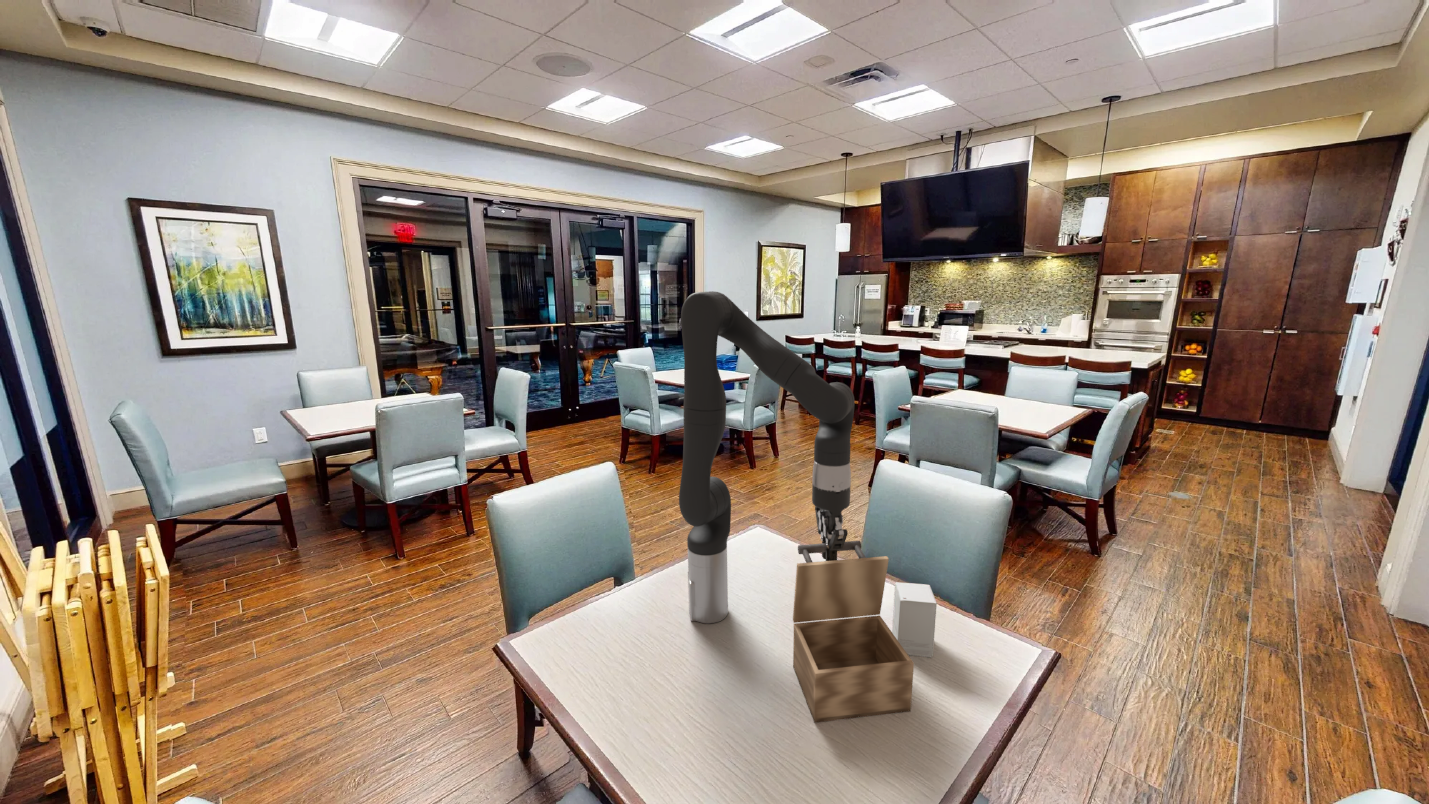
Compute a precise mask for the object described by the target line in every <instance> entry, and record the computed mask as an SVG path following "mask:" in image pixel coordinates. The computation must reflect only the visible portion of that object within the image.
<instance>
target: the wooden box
mask: <svg viewBox="0 0 1429 804" xmlns="http://www.w3.org/2000/svg"><path fill="white" fill-rule="evenodd" d="M792 654H793V656H792V665H793V666H792V667H793V670H794V673H795V675H796V677H797V681H798V683H799V686H800V689H801V692H802V694H803V697H804V700H805V703H806V705H807V707H808V710H809V712H810V715H811V717H812V720H813V723H816V724H817V723H824V722H833V721H840V720H848V719H850V720H851V719H857V718H867V717H875V716H882V715H891V714H900V713H901V714H902V713H909V712H911V710H912V697H913V682H914V666H915V665H914V664H915V663H914V661H913V660H912V659H911V657H910V655H908V654H907V653H906V651H905V650H904V649H903V647H902V646H901V644H900V643H899V642H898V640H897V639H896V637H895V636H894V635H893V633H892V629H890V627H889V626H888V625H887V623H886V622H885V621H884V619H883V618H882V616H881V614H880V615H870V616H860V617H849V618H839V619H828V620H818V621H807V622H797V623H793V653H792Z"/></svg>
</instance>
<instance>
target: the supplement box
mask: <svg viewBox="0 0 1429 804" xmlns="http://www.w3.org/2000/svg"><path fill="white" fill-rule="evenodd" d="M893 595H894V597H893V610H892V611H893V614H892V615H893V616H892V628H891V632H892V633H893V635H894V636H895V637H896V639H897V640H898V642H899V643H900V644H901V646H902V647H903V649H904V650H905V651H906V653H907V654H908V656H914V657H923V658H924V657H925V658H933V656H934V644H935V643H934V642H935V633H936V618H937V617H936V616H937V604H938V603H937V600H936V597H935V595H934V592H933V590H932V587H931V585H930V584H923V583H911V582H897V581H895V583H894V594H893Z"/></svg>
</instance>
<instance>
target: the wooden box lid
mask: <svg viewBox="0 0 1429 804" xmlns="http://www.w3.org/2000/svg"><path fill="white" fill-rule="evenodd" d="M844 551H847V552H848V551H854V552H855V554H856V555H857V557H858V558H849V559H848V558H847V559H837V560H834V561H826V560H823V561H813V560H812V557H811V556H810V554H820V553H821V554H822V553H823V552H826V543H822V542H821V543H812V544H811V543H810V544H798V545H797V553H798V555H802V556H803V558H804V561H805V562H800V563H798V562H797V563H796V573H795V587H794V596H793V597H794V601H793V611H792V622H793V624H795V623H806V622H816V621H827V620H837V619H848V618H858V617H869V616H879V615H880V616H881V610H882V604H883V598H884V597H883V596H884V592H885V587H886V586H885V584H886V579H887V572H888V566H889V562H890V561H889V557H888V556H885V555H884V556H873V557H866V556H865V554H864V552H863V551H862V543H861V541H860V540H849V541H845V543H844V546H843V548H842V549H837V552H844Z"/></svg>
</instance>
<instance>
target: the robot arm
mask: <svg viewBox="0 0 1429 804" xmlns="http://www.w3.org/2000/svg"><path fill="white" fill-rule="evenodd" d="M680 313H681V314H680V324H681V325H680V326H681V335H682V337H681V338H682V345H683V359H684V361H683V363H684V365H683V367H684V370H683V371H684V372H683V373H684V374H683V375H684V377H683V379H684V381H683V383H684V384H683V385H684V386H683V389H684V390H683V391H684V392H683V394H684V395H683V443H682V444H683V447H682V448H683V450H682V466H681V467H682V468H681V469H682V470H681V477H680V486H679V492H678V503H679V504H678V506H679V510H680V513H681V516H682V518H683V519H684V521H685V522H686V523H687V524H688V525H690V526H692V529H691V530H690V531H689V533H688V535H687V539H686V540H687V541H686V543H687V569H688V571H687V589H688V592H687V593H688V608H689V609H688V611H689V617H690V621H691V622H698V623H702V624H713V623H718V622H720V621H722V620H725V618H727V616H728V614H729V591H728V588H729V587H728V585H729V584H728V583H729V582H728V580H729V579H728V539H729V535H730V532H731V522H732V521H731V520H732V519H731V518H732V499H731V494H730V491H729V487H728V486H727V484H726V483H725V481H723V480H722V479H720V477H717V476H711V472H712V467H713V462H714V460H715V458H716V455H717V452H718V449H719V447H720V444H721V442H722V439H723V437H724V433H725V429H726V425H727V424H726V423H727V418H726V417H727V396H726V391H725V388H724V387H725V386H724V384H723V382H722V377H721V375H720V372H719V368H718V359H717V353H718V352H717V351H718V337H721V338H723V339H725V340H727V341H728V342H730V343H732V344H734V345H735V346H737V347H738V348H739V349H740V350H742V351H743V352H744V353H745V354H746V355H747V357H749V359H750V360H751V361H752V363H754V365H755V366H756V367H757V368H758V369H759V370H760V372H761V373H762V374H764V376H766V377H767V378H769V379H770V380H772V381H773V382H774V383H776V384H777V385H778V386H779V387H781V388H782V389H784V390H785V391H787V392H788V393H790V394H791V395H792V396H793V397H794V398H795V399H796V401H797V402H799V403H800V405H801V406H802V407H803V408H804V409H805V410H806V411H807V412H808V413H810V414H811V416H813V417H814V418H816V419H817V420H818V421H819V423H818V430H817V433H816V435H815V437H814V438H815V439H814V443H813V445H814V448H813V449H814V452H813V466H812V477H811V478H812V479H811V481H812V485H811V487H812V489H811V502H812V504H813V506H814V511H815V517H816V526H817V533H818V535H820V540H821V544H822V543H826V552H823V553H821V558H822V559H824V560H825V561H834V560H838V551H837V549H842V548H843V546H844V543H845V542H846V540H847V538H848V533H849V532H848V530H847V528H845V529H844V528H843V524H844V516H843V514H842V512H843V511H844V510H846V509H847V508H848V507H849V506H850V505H851V480H852V472H851V471H852V470H851V469H852V468H851V433H852V428H853V420H854V416H855V396H854V393H853V391H852V389H851V388H850V386H848V385H847V384H845V383H844V382H838V381H836V382H830V383H828V382H827V381H826V380H824V378H823V377H821V376H820V375H818V374H817V373H816V369H815V367H814V366H813V365H812V364H811V363H809V362H808V361H807V360H805V358H802V357H801V356H800V355H798V354H797V353H795V352H794V351H792V350H791V349H790V348H788V347H787V346H786V345H784V344H783V343H781V342H779V340H777V339H776V338H774V337H773V336H771V335H770V334H769V333H767V332H766V331H765V330H763V329H762V328H761V327H760V326H759V325H758V324H757V323H755V322H754V321H753V319H751V318H750V317H749V316H748V315H747V314H745V312H743V311H742V310H741V308H739V306H737V305H736V304H735V303H734V301H732V299H730V298H729V297H728V296H727V295H725V294H724V293H722V292H719V291H696V292H694V293H691V294H690V295H689V296H688V297H687V298H686V299H685V300H684V302H683V304H682V307H681V312H680Z"/></svg>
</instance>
